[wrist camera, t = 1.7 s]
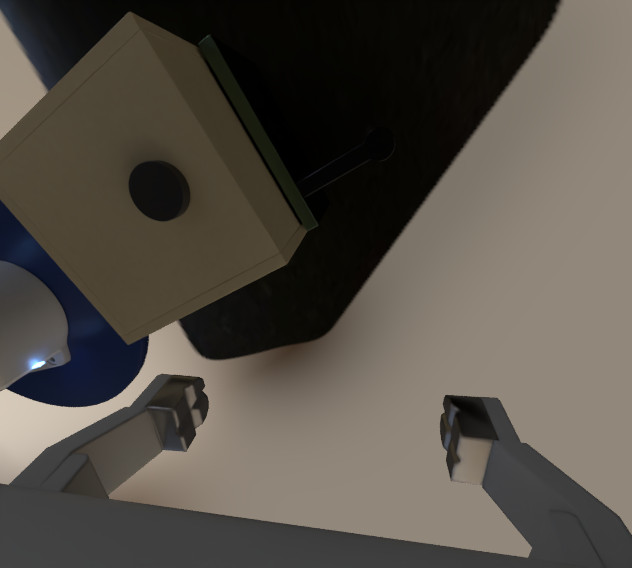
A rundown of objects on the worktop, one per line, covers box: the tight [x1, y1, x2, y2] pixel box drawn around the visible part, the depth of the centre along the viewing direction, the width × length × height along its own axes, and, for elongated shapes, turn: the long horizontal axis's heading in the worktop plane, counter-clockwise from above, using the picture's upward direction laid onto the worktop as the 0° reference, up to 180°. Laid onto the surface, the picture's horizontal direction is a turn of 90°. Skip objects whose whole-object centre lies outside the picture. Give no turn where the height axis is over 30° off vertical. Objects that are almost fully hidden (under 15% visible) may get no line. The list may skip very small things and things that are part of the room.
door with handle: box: [198, 34, 395, 231], centre depth 27 cm, size 21×14×10 cm, turn 120°
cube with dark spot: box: [0, 12, 307, 345], centre depth 26 cm, size 14×14×17 cm
